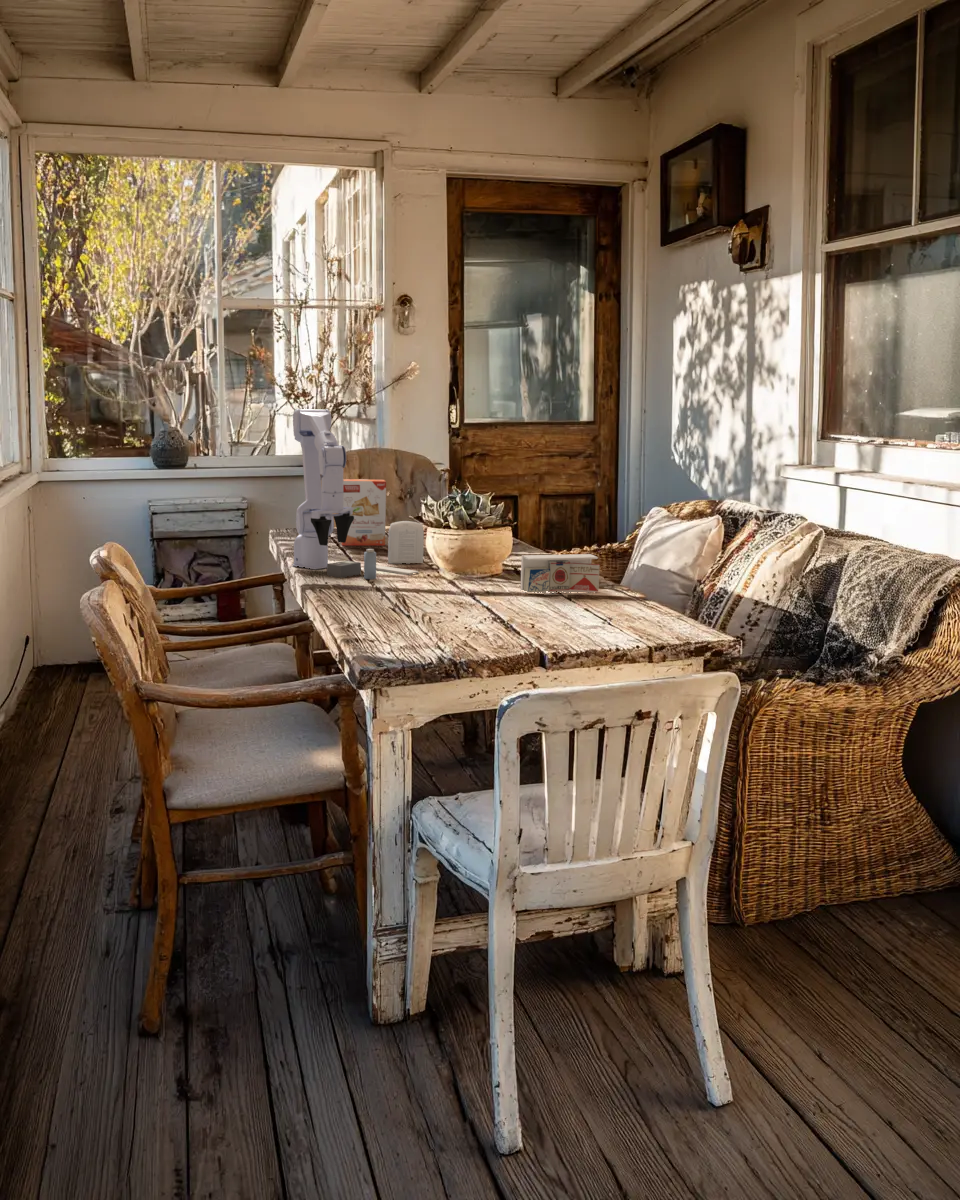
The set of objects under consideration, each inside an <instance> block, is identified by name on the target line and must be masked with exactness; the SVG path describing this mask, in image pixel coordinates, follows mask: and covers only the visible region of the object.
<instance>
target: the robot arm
mask: <svg viewBox="0 0 960 1200" xmlns="http://www.w3.org/2000/svg"><path fill="white" fill-rule="evenodd" d="M292 427H293V436H294V440H295V441H296V442H298V443H299V444H300V446H301V450H302V451H301V454H302V469H303V482H304V497H305V501H303V502H302V503H301V504H300V505H299V506H298V507H297V509H296V513H295V515H296V517H295V528H296V532H297V533H298V535H297V536H296V537H295V539H294V542H293V563H292V564H291V566H292V565H293V566H292V567H297V566H299V567H298V568H303V567H305V568H304V569H309V568H310V570H320V569H327V564H329V537H330V535H331V534H332V533H333V531H334V529H335V528H336V537H337V542H338V543H345V542H346V538H347V534H348V531H349V528H350V526H351V523H352V522H353V520H354V516H351V515H352V514H353V507H343V479H344V469H345V468H346V465H347V450H346V447H345V445H340V444H339V443H338V440H337V438H336V437H335V434H334V433H333V432H331V431H330V430H331V428H332V414H331V411H330V410H329V408H325V409H318V408H317V409H316V408H315V409H313V408H312V409H311V408H310V409H309V408H305V409H304V408H295V410H294V411H293V413H292ZM335 526H336V527H335Z"/></svg>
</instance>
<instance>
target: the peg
mask: <svg viewBox="0 0 960 1200" xmlns="http://www.w3.org/2000/svg"><path fill="white" fill-rule="evenodd" d="M363 562H364V563H363V579H364V578H365V579H364V580H376V579H377V570H376V565H377V552H376V551H375V549H374V548H366V551H364V552H363Z"/></svg>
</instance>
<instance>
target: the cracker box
mask: <svg viewBox="0 0 960 1200" xmlns="http://www.w3.org/2000/svg"><path fill="white" fill-rule="evenodd" d="M343 507H353V514H352V515H351V516H354V520H353V522H352V523H351V526H350V528H349V531H348V534H347V538H346V542H345V543H341V542H340V543H341V546H345V547H346V546H350V547H353V546H355V547H356V546H358V547H359V546H360V547H361V546H363V547H364V546H367V547H368V546H371V547H372V546H373V547H374V546H377V547H378V546H381V547H385V546H386V523H387V522H386V519H387V516H386V515H387V510H386V509H387V481H386V480H385V479H369V478H364V479H363V478H360V479H359V478H358V479H354V478H353V479H352V478H348V479H347V478H345V479H344V478H343Z"/></svg>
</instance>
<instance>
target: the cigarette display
mask: <svg viewBox="0 0 960 1200" xmlns="http://www.w3.org/2000/svg"><path fill="white" fill-rule="evenodd" d="M597 559H599V557H598V556H596V555H593V554H591V553H582V554H581V553H580V554H579V553H576V554H575V553H573V554H528V555H527V554H525V555H523V554H521V560H520V561H521V563H520V564H521V566H520V568H521V569H520V591H521V590H524V591H527V592H534V593H535V592H537V593H539V592H540V593H541V592H542V593H546V591H548V592H550V593H552V592H554V593H558V592H561V593H564V592H566V593H569V592H570V593H571V592H577V593H578V592H598V591H599V588H600V587H599V586H600V585H599V583H600V567H601V566H600V564H599V563H598V564H597V563H592V560H597ZM556 591H557V592H556ZM562 591H563V592H562Z"/></svg>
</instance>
